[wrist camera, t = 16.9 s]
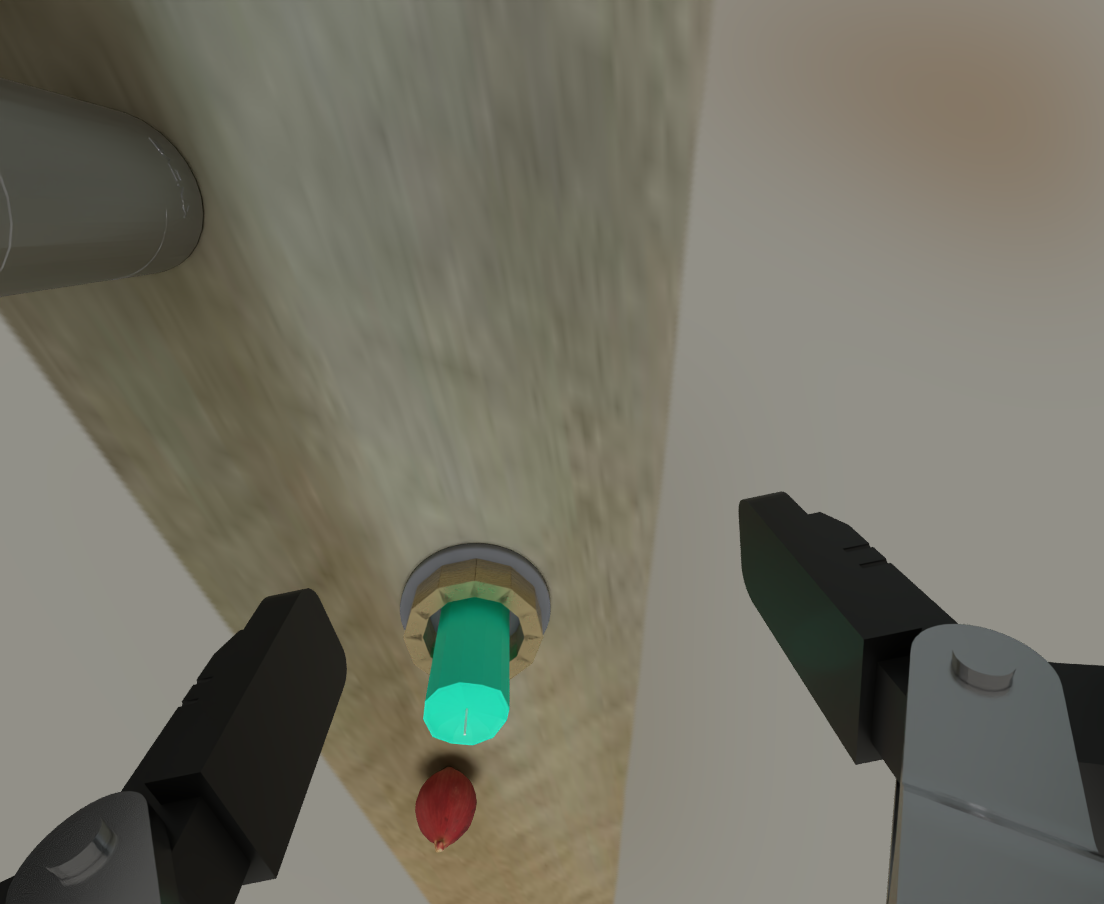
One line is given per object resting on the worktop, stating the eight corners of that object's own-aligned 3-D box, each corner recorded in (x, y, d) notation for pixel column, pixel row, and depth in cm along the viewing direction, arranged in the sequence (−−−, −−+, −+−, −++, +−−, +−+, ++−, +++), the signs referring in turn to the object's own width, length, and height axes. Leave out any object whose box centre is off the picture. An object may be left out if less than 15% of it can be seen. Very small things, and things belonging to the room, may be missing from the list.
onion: (489, 764, 56) (486, 846, 48) (456, 794, 57) (448, 878, 50) (443, 742, 54) (433, 824, 47) (410, 773, 55) (395, 858, 48)
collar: (432, 671, 49) (428, 698, 46) (395, 575, 44) (387, 598, 41) (550, 647, 49) (552, 672, 46) (524, 548, 44) (525, 570, 41)
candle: (470, 649, 48) (458, 777, 37) (425, 608, 46) (399, 731, 35) (523, 616, 47) (527, 737, 36) (480, 572, 45) (471, 687, 34)
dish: (426, 672, 50) (425, 681, 49) (381, 560, 45) (379, 568, 44) (561, 644, 50) (562, 652, 49) (533, 529, 45) (533, 535, 44)
